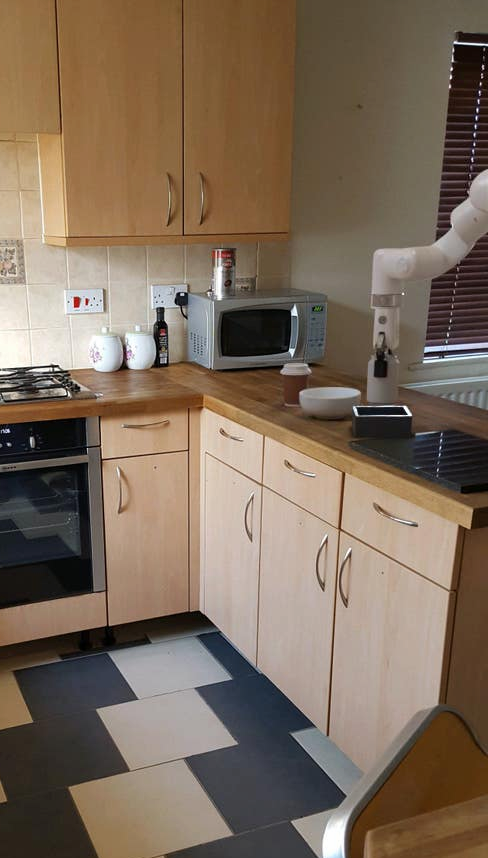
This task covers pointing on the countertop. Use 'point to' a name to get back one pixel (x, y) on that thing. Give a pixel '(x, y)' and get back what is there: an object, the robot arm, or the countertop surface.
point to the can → (383, 383)
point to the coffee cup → (294, 382)
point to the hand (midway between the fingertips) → (383, 374)
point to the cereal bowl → (329, 401)
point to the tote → (381, 422)
